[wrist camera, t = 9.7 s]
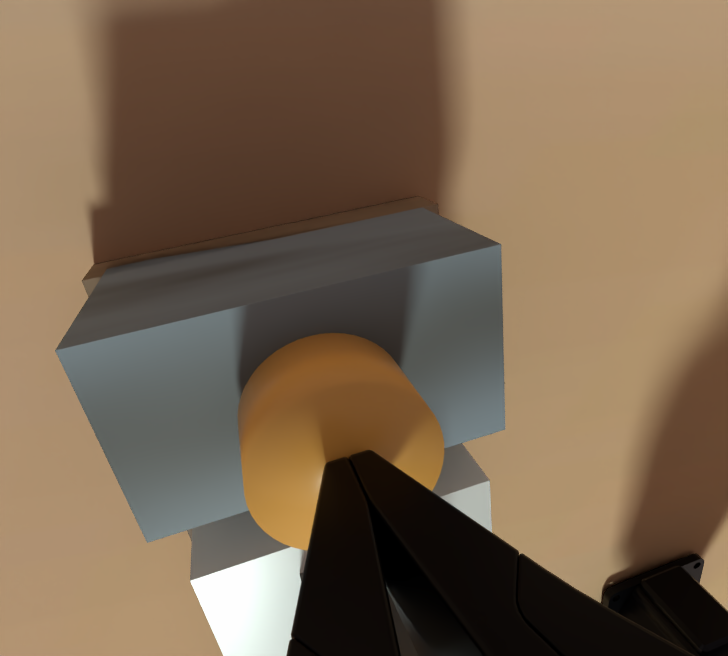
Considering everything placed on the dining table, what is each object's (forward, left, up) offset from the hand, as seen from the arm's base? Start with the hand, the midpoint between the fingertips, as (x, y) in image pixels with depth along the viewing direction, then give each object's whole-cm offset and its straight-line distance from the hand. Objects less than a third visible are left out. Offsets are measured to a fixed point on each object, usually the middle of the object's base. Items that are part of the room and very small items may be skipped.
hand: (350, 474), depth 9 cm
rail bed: (-8, 0, -9) cm, 12 cm away
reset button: (0, 0, -2) cm, 2 cm away
